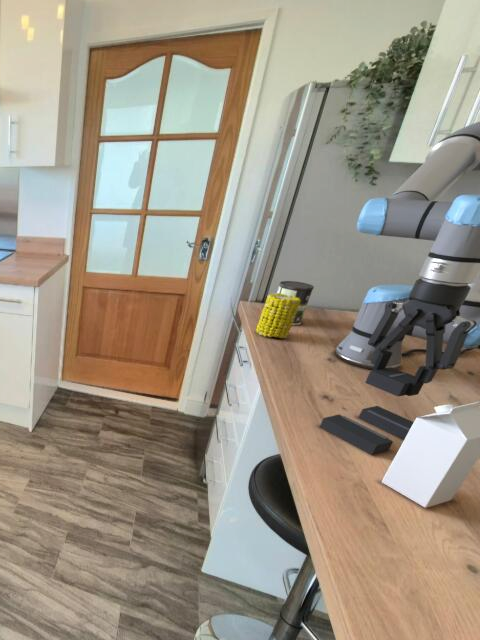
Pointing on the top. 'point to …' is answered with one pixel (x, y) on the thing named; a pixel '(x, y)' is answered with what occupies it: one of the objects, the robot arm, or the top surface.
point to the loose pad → (390, 380)
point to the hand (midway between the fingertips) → (392, 386)
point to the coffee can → (297, 291)
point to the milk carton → (437, 455)
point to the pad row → (364, 435)
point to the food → (278, 315)
